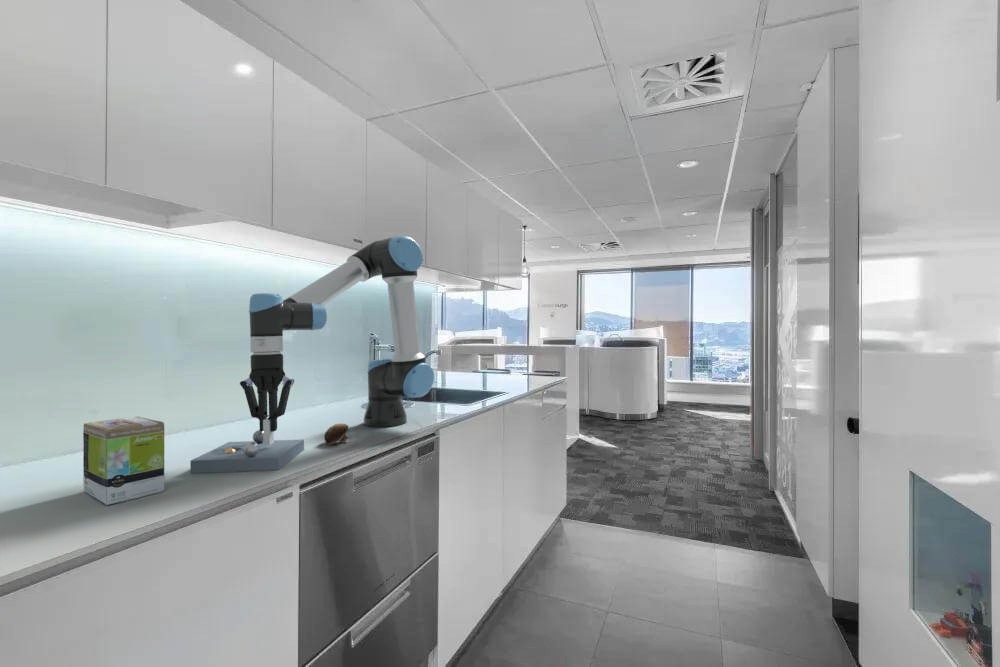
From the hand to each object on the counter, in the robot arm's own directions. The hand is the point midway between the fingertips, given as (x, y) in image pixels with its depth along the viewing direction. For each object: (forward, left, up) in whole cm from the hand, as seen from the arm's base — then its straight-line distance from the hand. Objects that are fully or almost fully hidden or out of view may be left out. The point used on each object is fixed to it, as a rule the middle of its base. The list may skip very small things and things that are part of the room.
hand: (268, 443), depth 116 cm
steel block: (+5, -7, 0) cm, 9 cm away
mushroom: (-13, -16, -5) cm, 21 cm away
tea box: (+21, +20, -5) cm, 30 cm away
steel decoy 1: (+1, +7, 0) cm, 7 cm away
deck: (+4, 0, -4) cm, 6 cm away
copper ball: (+10, 0, -3) cm, 10 cm away
